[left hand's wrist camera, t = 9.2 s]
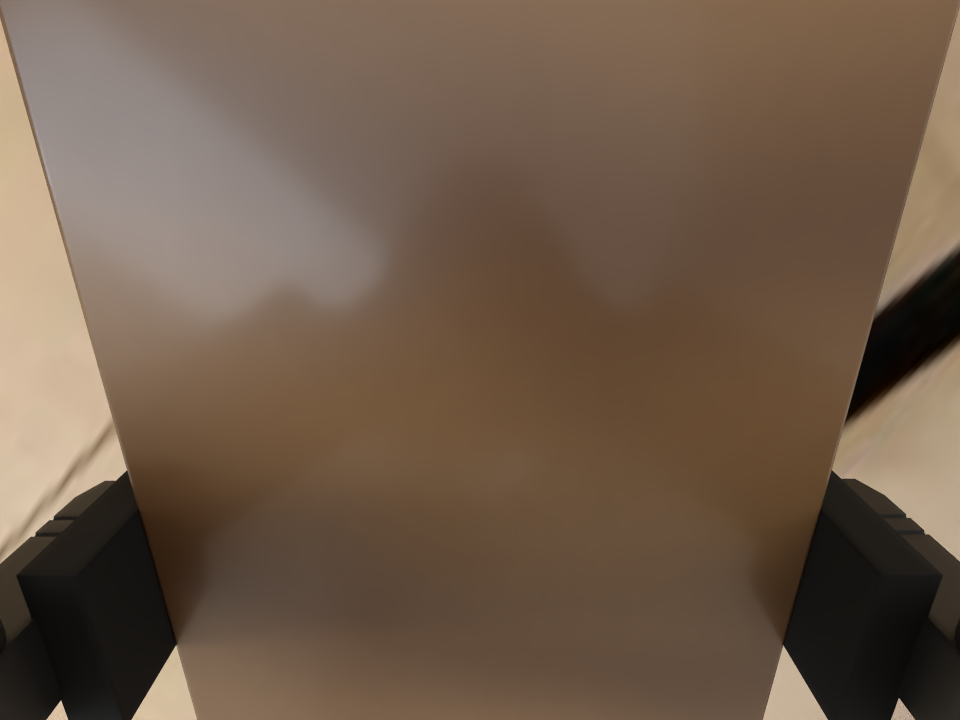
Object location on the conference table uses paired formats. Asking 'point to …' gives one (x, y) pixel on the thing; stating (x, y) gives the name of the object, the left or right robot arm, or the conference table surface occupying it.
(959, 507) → the conference table surface
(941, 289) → the conference table surface
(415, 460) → the cabinet
